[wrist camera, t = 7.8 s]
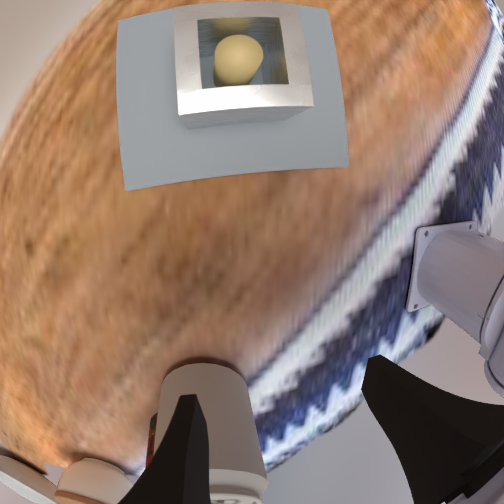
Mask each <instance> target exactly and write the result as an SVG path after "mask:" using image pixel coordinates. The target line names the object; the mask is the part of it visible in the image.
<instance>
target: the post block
mask: <svg viewBox="0 0 504 504" xmlns="http://www.w3.org/2000/svg"><path fill="white" fill-rule="evenodd" d="M298 8H299V13H300V18H301V23H302V29H303V34H304V40H305V46H306V52H307V58H308V65H309V72H310V79H311V87H312V95H313V104H314V106H313V107H311V108H309V109H307V110H305V111H303V112H301V113H299V114H297V115H295V116H293V117H291V118H289V119H287V120H285V121H277V122H256V123H242V124H231V125H221V126H212V127H204V128H196V129H189V130H188V128H187V127H186V125H185V124H184V122H183V121H182V119H181V118H180V116H179V112H178V99H177V84H176V67H175V44H174V8H173V9H167V10H162V11H156V12H152V13H147V14H143V15H138V16H134V17H130V18H127V19H123V20H119V21H118V30H117V51H116V93H117V116H118V130H119V142H120V152H121V161H122V169H123V177H124V184H125V191H131V190H136V189H141V188H147V187H153V186H158V185H164V184H170V183H177V182H183V181H190V180H197V179H204V178H212V177H220V176H228V175H237V174H246V173H257V172H268V171H280V170H295V169H312V168H337V167H349V157H348V142H347V130H346V120H345V110H344V101H343V93H342V86H341V79H340V72H339V66H338V60H337V54H336V48H335V43H334V38H333V33H332V28H331V24H330V19H329V15H328V11H327V9H323V8H317V7H310V6H302V5H298ZM262 60H263V50H262V47H261V46H260V44H259V43H258V42H257V41H256V40H254V39H253V38H251V37H249V36H245V35H232V36H228V37H226V38H224V39H223V40H222V41H220V42H219V44H218V45H217V47H216V49H215V56H212V57H202V58H200V69H201V82H202V89H207V88H217V87H228V86H243V85H263V78H262V69H261V62H262Z"/></svg>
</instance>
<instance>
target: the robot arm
mask: <svg viewBox="0 0 504 504" xmlns="http://www.w3.org/2000/svg"><path fill="white" fill-rule="evenodd" d="M477 227H478V224H477V221H466V222H459V223H451V224H443V225H436V226H428V227H421V228H419V229H418V230H417V232H416V239H415V250H414V259H413V267H412V274H411V281H410V287H409V293H408V299H407V304H406V310H407V311H408V312H412V311H415V310H418V309H421V308H424V307H427V306H429V305H432V306H434V307H435V308H436V309H437V310H439V311H440V312H441V313H443V314H444V315H445V316H446V317H448V318H449V319H450V320H452V321H453V322H454V323H455V324H457V325H458V326H459V327H460V328H462V329H463V330H464V331H465V332H466V333H468V334H469V335H470V336H471V337H473V338H474V339H475V340H476V341H477V342H479V343H480V344H481V347H480V350H479V354H480V355H481V356H482V357H483V358H484V359H485V364H484V372H485V375H486V378H487V380H488V382H489V384H490V385H491V387H492V388H493V390H494V391H495V392H496V393H498V394H499V395H500V396H501V397H503V398H504V243H503V242H501V241H499V240H497V239H495V238H492V237H490V236H487V235H485V234H482V233H480V232H477ZM425 232H426V233H425ZM424 234H425V235H424ZM414 305H415V306H414ZM361 390H362V392H363V395H364V397H365V400H366V401H367V404H368V406H369V408H370V410H371V411H372V413H373V415H374V416H375V418H376V419H377V421H378V422H379V424H380V426H381V427H382V428H383V430H384V432H385V433H386V435H387V437H388V438H389V440H390V441H391V443H392V445H393V447H394V449H395V451H396V453H397V455H398V458H399V460H400V462H401V465H402V467H403V470H404V472H405V475H406V478H407V480H408V484H409V487H410V490H411V493H412V497H413V501H414V504H441V503H443V502H444V501H445V503H446V504H504V405H495V404H488V403H482V402H477V401H473V400H469V399H466V398H462V397H459V396H457V395H454V394H451V393H449V392H446V391H444V390H441V389H439V388H437V387H435V386H433V385H431V384H429V383H427V382H425V381H423V380H422V379H420V378H418V377H416V376H415V375H413V374H411V373H410V372H408V371H406V370H405V369H403V368H401V367H400V366H398V365H396V364H395V363H393V362H392V361H390V360H388V359H387V358H385V357H384V356H382V355H377V356H374V357H371V358H368V363H367V367H366V372H365V376H364V380H363V384H362V388H361ZM117 504H211V499H210V489H209V438H208V430H207V422H206V419H205V417H204V414H203V411H202V409H201V406H200V403H199V400H198V398H197V395H196V394H187V395H181V396H180V397H179V399H178V402H177V405H176V408H175V411H174V413H173V416H172V418H171V421H170V423H169V425H168V428H167V430H166V432H165V434H164V437H163V439H162V441H161V443H160V445H159V446H158V448H157V450H156V452H155V454H154V456H153V458H152V459H151V461H150V463H149V464H148V466H147V467H146V469H145V470H144V472H143V473H142V475H141V476H140V478H139V479H138V480H137V482H136V483H135V484H134V485H133V487H132V488H131V489H130V490H129V492H128V493H127V494H126V495H125V496H124V497H123V498H122V499H121V500H120V501H119V502H118V503H117Z"/></svg>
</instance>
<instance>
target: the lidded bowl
mask: <svg viewBox="0 0 504 504" xmlns="http://www.w3.org/2000/svg"><path fill="white" fill-rule="evenodd" d="M132 487H133V484H132V482H131V481H130V480H129V479H128V478H127V477H126V474H125V472H124V471H123V470H121V469H120V468H118V467H116V466H114V465H112V464H110V463H108V462H105V461H102V460H99V459H95V458H83V459H82V460H81V461H77V462H74V463H72V464H71V465H69V466H68V467H67V468H66V469H65V470H64V472H63V473H62V475H61V477H60V479H59V482H58V486H57V490H56V491H55V494H54V498H55V500H56V501H57V502H58V503H60V504H117V503H118V502H119V501H120V500H121V499H122V498H123V497H124V496H125V495H126V494H127V493H128V492H129V490H130V489H131V488H132Z"/></svg>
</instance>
